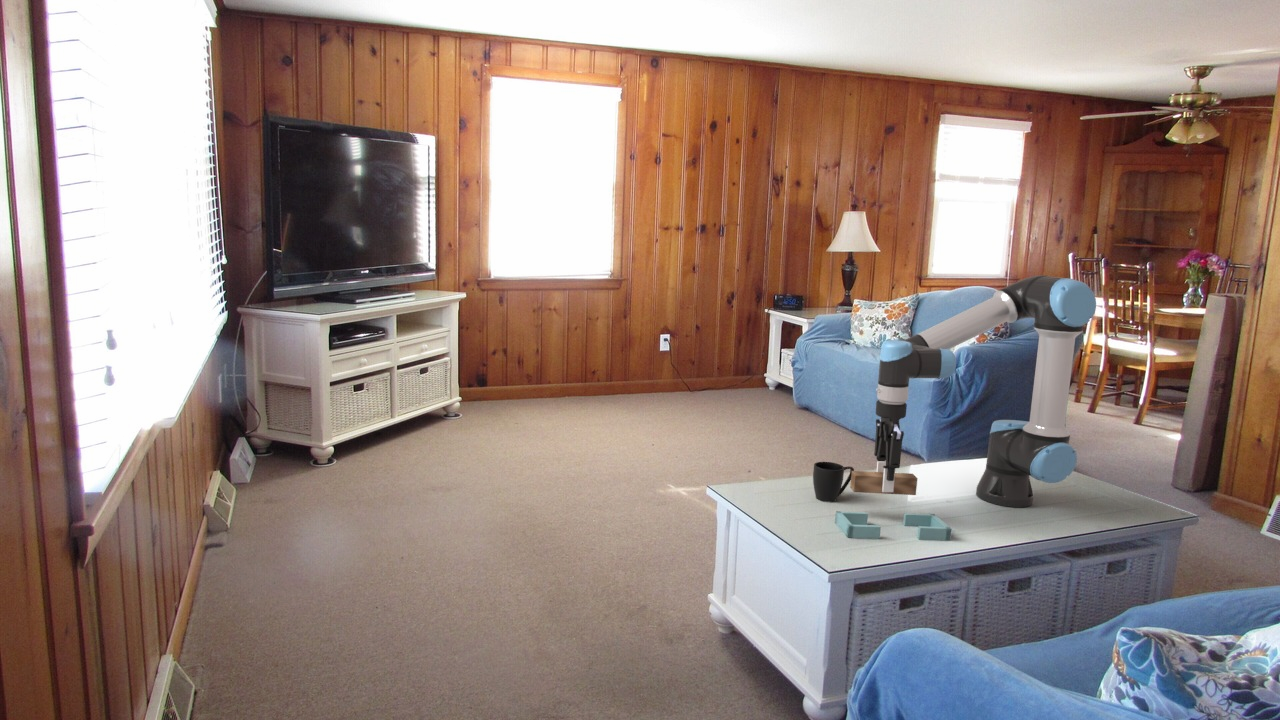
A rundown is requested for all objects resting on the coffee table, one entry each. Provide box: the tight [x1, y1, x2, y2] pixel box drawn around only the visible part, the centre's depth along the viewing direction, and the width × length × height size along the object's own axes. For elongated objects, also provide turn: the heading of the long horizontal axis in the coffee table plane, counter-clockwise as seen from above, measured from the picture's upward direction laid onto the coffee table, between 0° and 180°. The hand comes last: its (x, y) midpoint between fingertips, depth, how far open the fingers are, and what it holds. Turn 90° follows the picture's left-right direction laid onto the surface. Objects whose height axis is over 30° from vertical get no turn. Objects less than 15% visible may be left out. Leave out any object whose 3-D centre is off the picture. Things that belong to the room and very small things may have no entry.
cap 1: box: [834, 510, 882, 540], centre depth 215 cm, size 8×10×3 cm
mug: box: [812, 461, 855, 503], centre depth 238 cm, size 8×12×10 cm
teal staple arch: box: [902, 512, 953, 541], centre depth 216 cm, size 8×10×3 cm
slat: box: [849, 470, 918, 496], centre depth 223 cm, size 16×4×4 cm, turn 90°
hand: (884, 488), depth 223 cm, fingers closed on slat, 4 cm apart
